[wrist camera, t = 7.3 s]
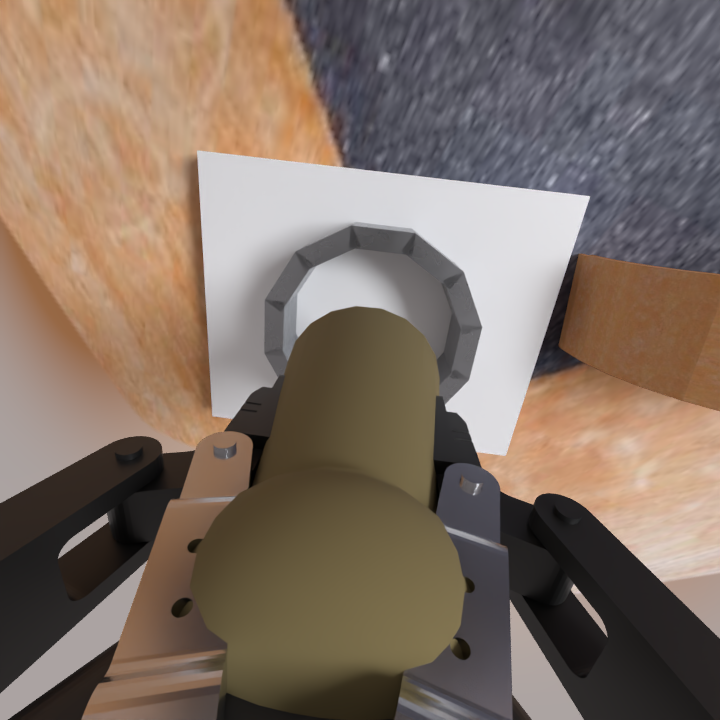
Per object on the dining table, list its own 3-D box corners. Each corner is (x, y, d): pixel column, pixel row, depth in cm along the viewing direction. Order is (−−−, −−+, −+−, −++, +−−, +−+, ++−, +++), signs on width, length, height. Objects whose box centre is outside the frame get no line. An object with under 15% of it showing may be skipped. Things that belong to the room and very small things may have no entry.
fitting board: (576, 196, 20) (590, 196, 19) (499, 442, 26) (505, 455, 25) (210, 153, 20) (196, 150, 19) (221, 405, 27) (212, 416, 25)
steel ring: (488, 237, 20) (503, 243, 17) (446, 415, 24) (453, 443, 21) (282, 212, 20) (265, 214, 17) (277, 392, 24) (263, 417, 22)
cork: (470, 392, 15) (649, 816, 5) (353, 466, 16) (297, 887, 6) (372, 271, 13) (315, 512, 3) (255, 369, 15) (-24, 720, 5)
